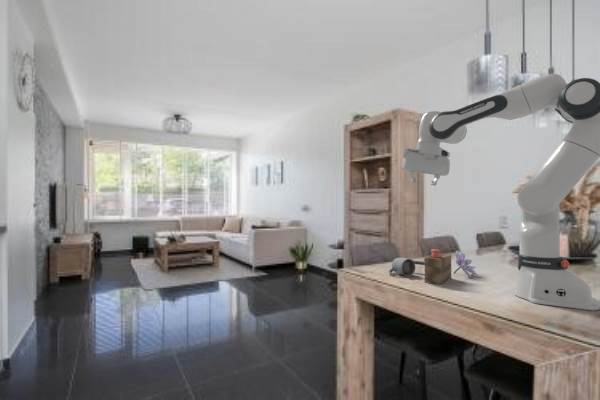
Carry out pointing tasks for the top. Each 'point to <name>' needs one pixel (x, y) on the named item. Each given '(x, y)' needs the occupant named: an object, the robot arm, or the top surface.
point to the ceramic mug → (402, 267)
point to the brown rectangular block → (437, 269)
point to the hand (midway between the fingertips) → (423, 183)
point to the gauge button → (435, 253)
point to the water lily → (464, 264)
